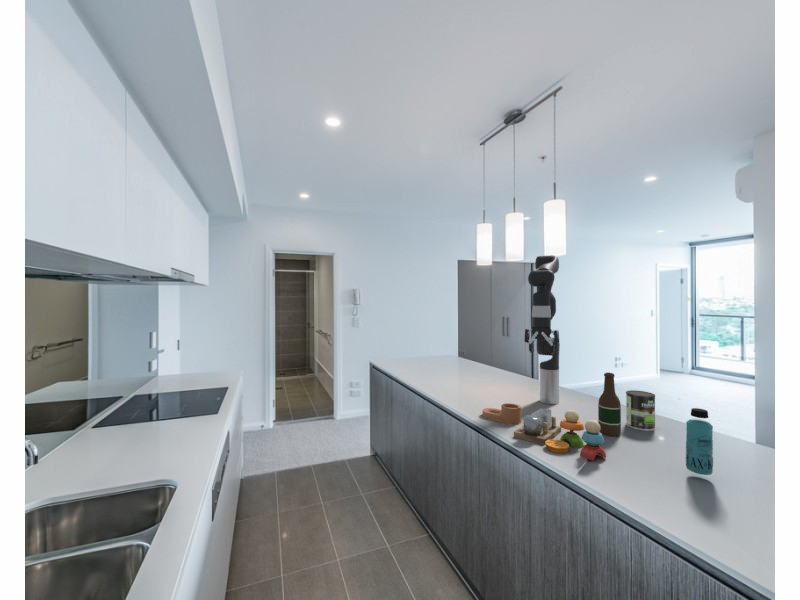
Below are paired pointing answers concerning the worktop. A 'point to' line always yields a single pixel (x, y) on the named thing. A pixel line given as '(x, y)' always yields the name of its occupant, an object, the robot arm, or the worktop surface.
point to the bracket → (504, 413)
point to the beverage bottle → (699, 443)
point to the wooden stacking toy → (578, 437)
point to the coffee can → (640, 410)
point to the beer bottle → (609, 408)
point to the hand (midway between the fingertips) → (541, 353)
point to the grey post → (536, 422)
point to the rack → (546, 434)
